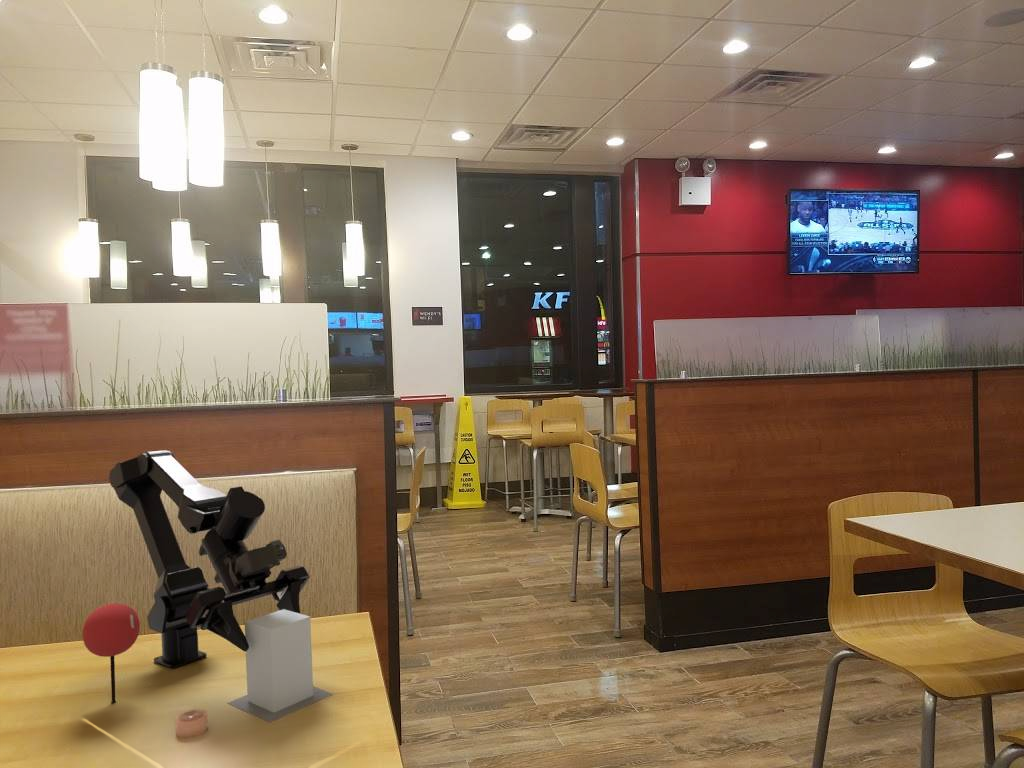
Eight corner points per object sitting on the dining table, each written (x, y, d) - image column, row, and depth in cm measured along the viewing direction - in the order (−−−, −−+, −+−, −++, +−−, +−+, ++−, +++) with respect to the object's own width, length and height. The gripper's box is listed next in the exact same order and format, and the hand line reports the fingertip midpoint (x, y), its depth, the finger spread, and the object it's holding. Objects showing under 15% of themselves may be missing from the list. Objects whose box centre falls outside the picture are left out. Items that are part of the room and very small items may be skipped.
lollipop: (84, 718, 106) (79, 616, 106) (87, 698, 113) (83, 602, 113) (142, 705, 110) (138, 606, 110) (142, 687, 117) (138, 594, 117)
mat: (227, 705, 109) (227, 702, 109) (290, 680, 117) (290, 677, 117) (269, 725, 102) (269, 722, 102) (333, 696, 111) (333, 693, 111)
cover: (247, 701, 109) (244, 621, 109) (286, 685, 115) (283, 609, 114) (274, 712, 105) (270, 629, 105) (313, 695, 110) (310, 616, 110)
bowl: (170, 736, 100) (169, 718, 100) (197, 724, 103) (197, 706, 103) (186, 744, 98) (185, 725, 98) (213, 732, 101) (212, 713, 101)
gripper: (192, 538, 106) (237, 626, 99) (300, 516, 121) (346, 592, 114) (168, 584, 111) (209, 672, 104) (274, 558, 126) (317, 633, 119)
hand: (274, 640), depth 110 cm, fingers open, 9 cm apart
